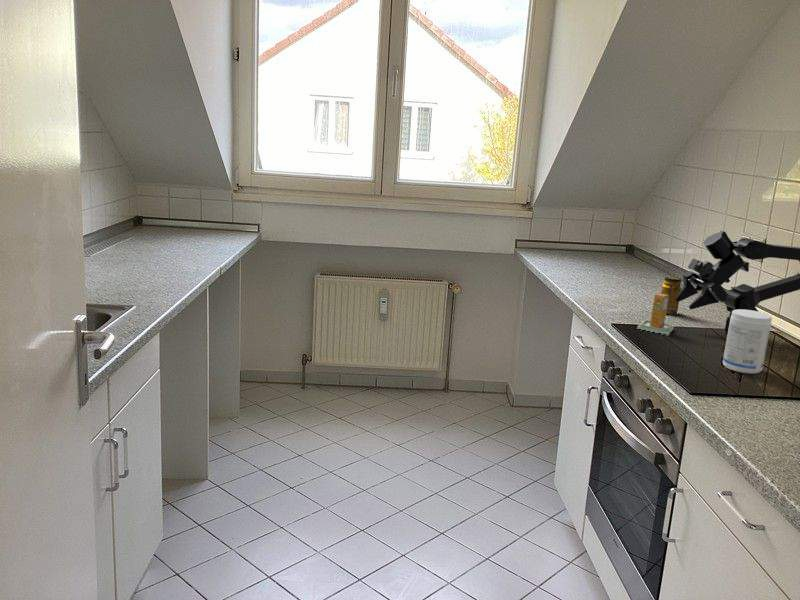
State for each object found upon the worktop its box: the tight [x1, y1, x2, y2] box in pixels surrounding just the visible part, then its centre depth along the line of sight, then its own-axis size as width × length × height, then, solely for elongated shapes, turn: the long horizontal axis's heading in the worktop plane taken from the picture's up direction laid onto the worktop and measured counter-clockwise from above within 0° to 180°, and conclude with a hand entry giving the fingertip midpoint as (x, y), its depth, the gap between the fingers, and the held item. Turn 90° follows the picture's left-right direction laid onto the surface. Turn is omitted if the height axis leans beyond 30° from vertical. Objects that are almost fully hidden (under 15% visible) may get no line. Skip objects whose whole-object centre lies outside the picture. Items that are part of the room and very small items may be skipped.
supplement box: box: [649, 292, 669, 328], centre depth 226 cm, size 3×3×10 cm
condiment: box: [660, 276, 687, 317], centre depth 251 cm, size 7×8×12 cm
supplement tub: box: [722, 309, 773, 375], centre depth 192 cm, size 10×10×15 cm
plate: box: [636, 319, 675, 336], centre depth 227 cm, size 9×9×2 cm
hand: (682, 304), depth 226 cm, fingers open, 9 cm apart
